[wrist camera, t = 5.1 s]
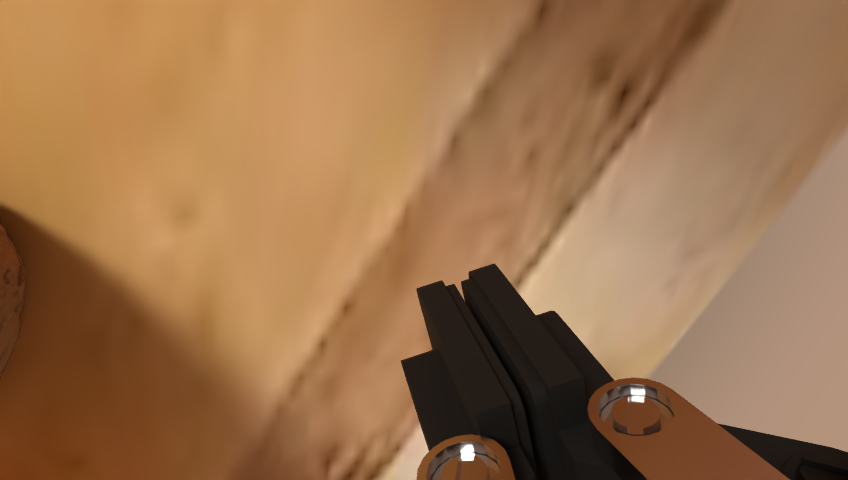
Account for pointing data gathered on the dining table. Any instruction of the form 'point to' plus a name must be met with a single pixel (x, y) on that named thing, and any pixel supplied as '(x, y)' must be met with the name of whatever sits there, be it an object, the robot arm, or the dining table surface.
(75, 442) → the dining table surface
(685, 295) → the dining table surface
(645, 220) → the dining table surface
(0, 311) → the block
